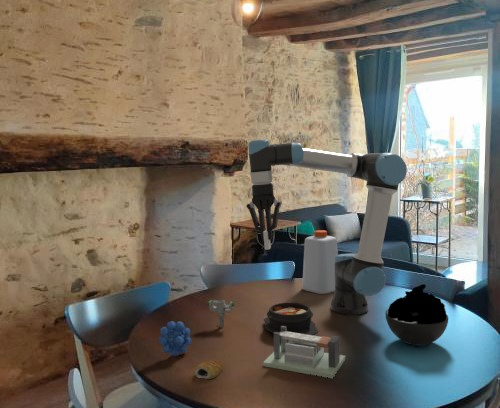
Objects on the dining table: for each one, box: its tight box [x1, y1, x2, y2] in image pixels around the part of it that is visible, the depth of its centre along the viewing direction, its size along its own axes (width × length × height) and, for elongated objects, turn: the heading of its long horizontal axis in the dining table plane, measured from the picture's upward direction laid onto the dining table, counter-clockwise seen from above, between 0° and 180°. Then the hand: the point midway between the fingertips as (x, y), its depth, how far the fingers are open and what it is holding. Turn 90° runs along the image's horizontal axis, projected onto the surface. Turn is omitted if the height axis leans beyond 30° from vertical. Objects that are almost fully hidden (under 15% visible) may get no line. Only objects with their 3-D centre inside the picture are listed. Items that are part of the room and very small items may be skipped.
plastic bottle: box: [301, 229, 339, 295], centre depth 229 cm, size 15×15×28 cm
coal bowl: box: [385, 283, 449, 346], centre depth 163 cm, size 20×20×19 cm
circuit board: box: [262, 345, 346, 379], centre depth 151 cm, size 22×14×1 cm, turn 65°
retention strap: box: [280, 330, 332, 349], centre depth 151 cm, size 17×6×1 cm, turn 65°
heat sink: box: [273, 326, 341, 369], centre depth 151 cm, size 19×11×8 cm, turn 65°
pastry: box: [193, 359, 223, 380], centre depth 146 cm, size 9×7×4 cm
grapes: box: [158, 320, 192, 357], centre depth 158 cm, size 12×7×12 cm, turn 126°
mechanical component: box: [206, 299, 236, 329], centre depth 184 cm, size 3×10×10 cm, turn 78°
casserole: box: [263, 302, 319, 336], centre depth 179 cm, size 25×19×8 cm
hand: (267, 248), depth 175 cm, fingers closed
